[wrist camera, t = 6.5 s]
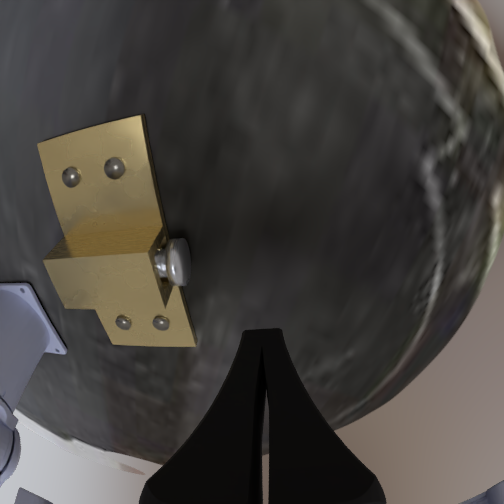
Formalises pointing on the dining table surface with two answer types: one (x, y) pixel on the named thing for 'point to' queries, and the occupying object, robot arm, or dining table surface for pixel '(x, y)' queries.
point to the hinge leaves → (113, 234)
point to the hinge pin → (175, 262)
